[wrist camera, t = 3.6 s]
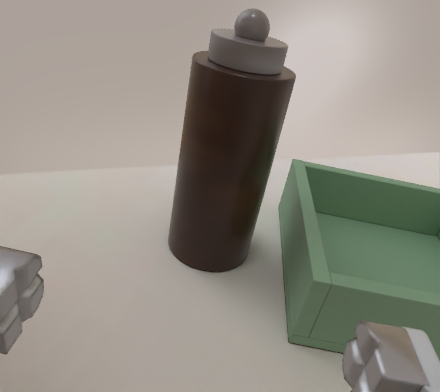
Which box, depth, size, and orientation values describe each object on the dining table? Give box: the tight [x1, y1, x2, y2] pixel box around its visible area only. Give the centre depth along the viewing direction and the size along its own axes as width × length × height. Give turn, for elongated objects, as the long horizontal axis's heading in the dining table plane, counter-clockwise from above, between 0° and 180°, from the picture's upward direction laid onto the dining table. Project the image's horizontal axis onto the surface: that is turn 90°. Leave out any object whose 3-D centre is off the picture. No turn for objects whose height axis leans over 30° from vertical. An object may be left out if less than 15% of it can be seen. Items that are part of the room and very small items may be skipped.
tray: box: [279, 159, 440, 361], centre depth 23 cm, size 13×13×4 cm
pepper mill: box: [168, 9, 296, 271], centre depth 20 cm, size 5×5×13 cm
